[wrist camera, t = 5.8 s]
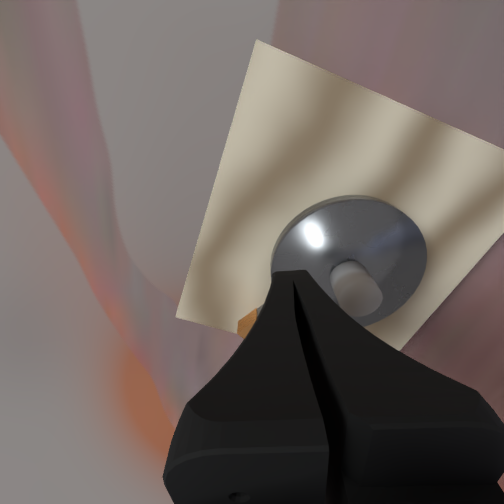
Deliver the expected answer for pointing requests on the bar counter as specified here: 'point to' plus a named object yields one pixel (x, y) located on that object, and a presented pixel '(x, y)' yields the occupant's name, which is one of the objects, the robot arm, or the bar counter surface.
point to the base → (338, 191)
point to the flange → (352, 250)
